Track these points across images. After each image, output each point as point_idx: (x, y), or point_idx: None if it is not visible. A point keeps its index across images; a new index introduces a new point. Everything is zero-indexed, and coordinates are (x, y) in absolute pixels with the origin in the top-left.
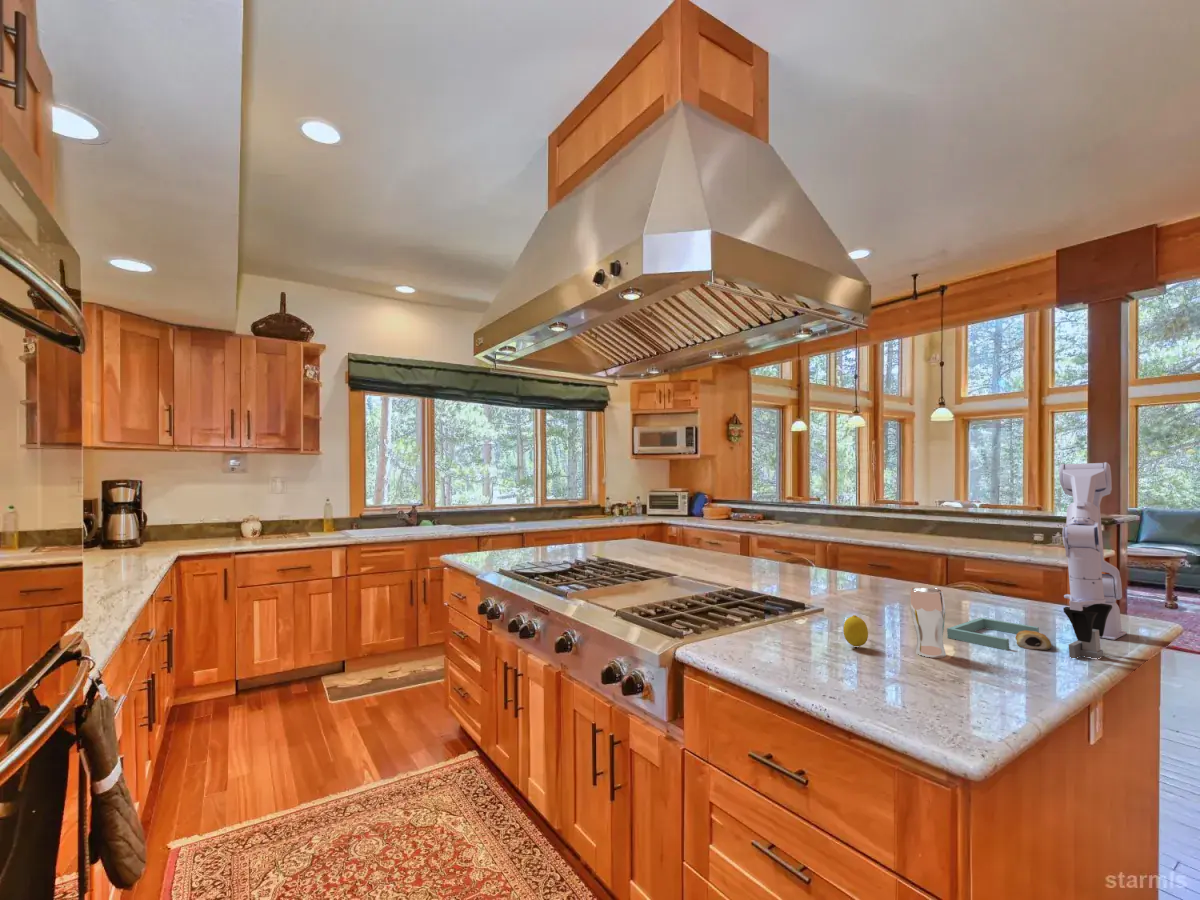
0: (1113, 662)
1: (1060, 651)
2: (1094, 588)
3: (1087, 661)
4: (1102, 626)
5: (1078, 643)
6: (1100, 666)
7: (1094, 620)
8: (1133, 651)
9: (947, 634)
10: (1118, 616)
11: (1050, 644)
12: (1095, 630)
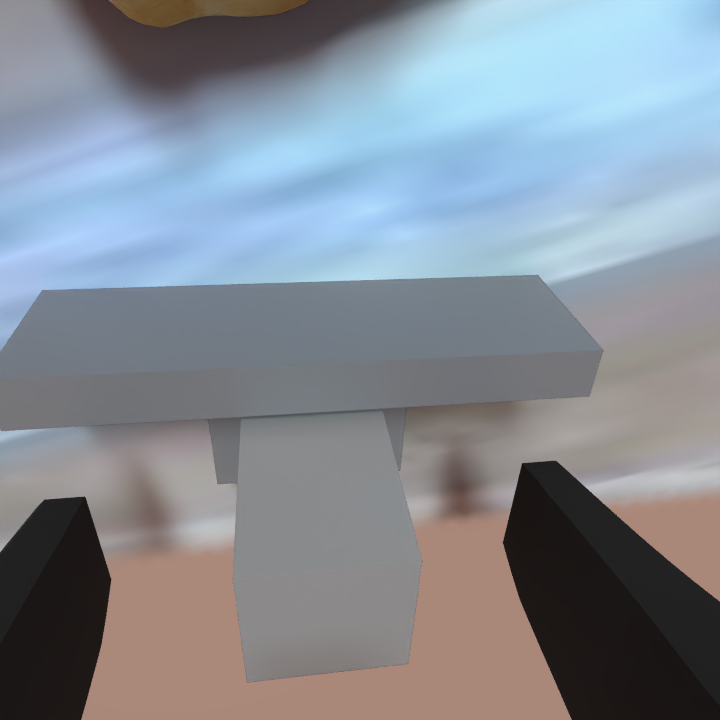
0: None
1: (249, 129)
2: None
3: None
4: (561, 670)
5: (169, 420)
6: (27, 508)
7: (618, 696)
8: (710, 478)
9: None
10: None
11: (232, 14)
12: (333, 663)
